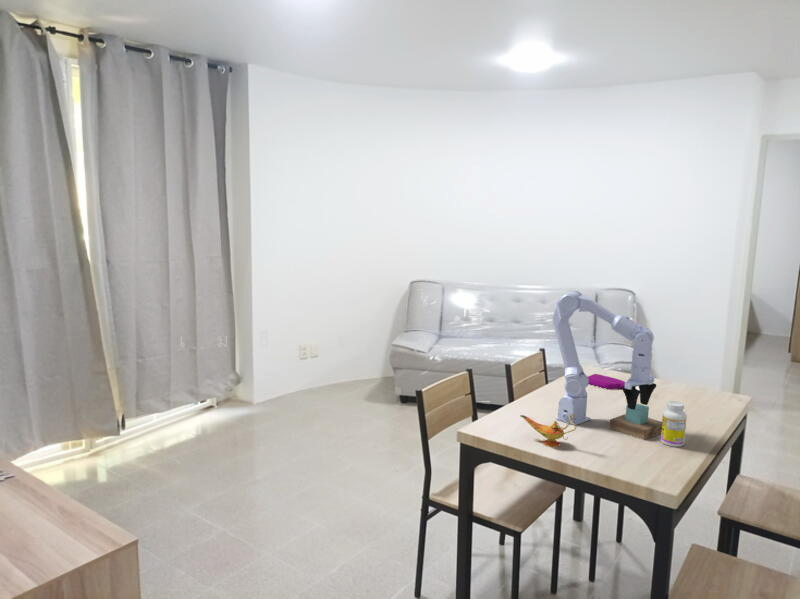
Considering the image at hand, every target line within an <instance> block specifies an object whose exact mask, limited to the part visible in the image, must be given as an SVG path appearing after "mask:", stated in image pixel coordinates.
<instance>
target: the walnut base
mask: <svg viewBox="0 0 800 599" xmlns="http://www.w3.org/2000/svg"><path fill="white" fill-rule="evenodd" d="M625 419H626V413H624V414H622V415H618V416H616V417H613V418H610V419H609V427H608V428H609V429H610V430H613V431H617V432H619V433H622V434H624V435H625V434H626V435H628V434H629V436H631V435H632V436H631V437H634V436H635V437H634V438H637V437H638V438H637V439H640V438H641V439H640V440H642V439H643V441H645V440H647V439H649V438H652V437H654V436H656V435H658V434H661V433H660V432H661V430H662V421H660V420H657V419H653V418H650V417H648V422H646V423H643V424H641V425H638V424H635V423H632V422H629V421H625ZM653 435H654V436H653ZM651 436H652V437H651ZM644 439H645V440H644Z"/></svg>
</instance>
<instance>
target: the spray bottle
mask: <svg viewBox="0 0 800 599" xmlns="http://www.w3.org/2000/svg"><path fill="white" fill-rule="evenodd" d="M587 377H588V380H589V384H590V386H592V385H594V386H593V387H596V386H598V387H597V388H600V387H601V388H600V389H604V388H606V389H605V390H622V386H625V382H626V381H624V380H621V379H618V378H615V377H611V376H606V375H603V374H597V373H593V374H591V375H587ZM589 384H588V385H589ZM636 389H637V390H639V386H636ZM639 396H640V394H639Z"/></svg>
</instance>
